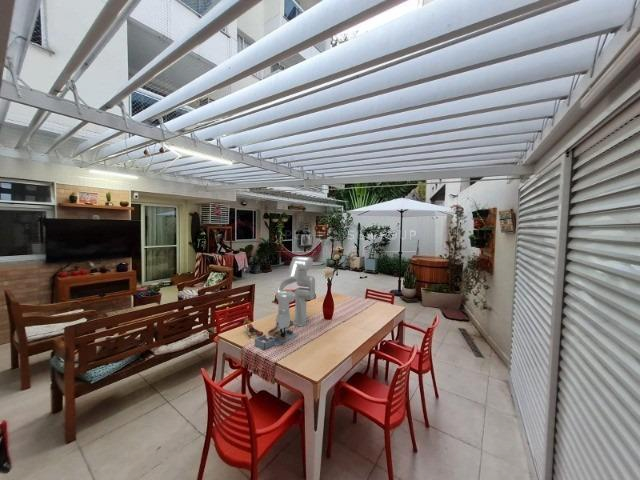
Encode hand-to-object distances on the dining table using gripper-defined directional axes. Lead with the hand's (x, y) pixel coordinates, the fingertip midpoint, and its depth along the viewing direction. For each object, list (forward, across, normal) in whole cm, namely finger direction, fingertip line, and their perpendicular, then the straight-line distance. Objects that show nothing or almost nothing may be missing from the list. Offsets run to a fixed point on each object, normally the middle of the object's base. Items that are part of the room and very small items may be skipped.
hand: (282, 336), depth 177 cm
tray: (+7, +8, -10) cm, 15 cm away
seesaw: (0, -8, -6) cm, 10 cm away
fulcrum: (+7, -8, -9) cm, 14 cm away
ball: (+4, +9, -10) cm, 14 cm away
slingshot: (+7, +4, -31) cm, 32 cm away
